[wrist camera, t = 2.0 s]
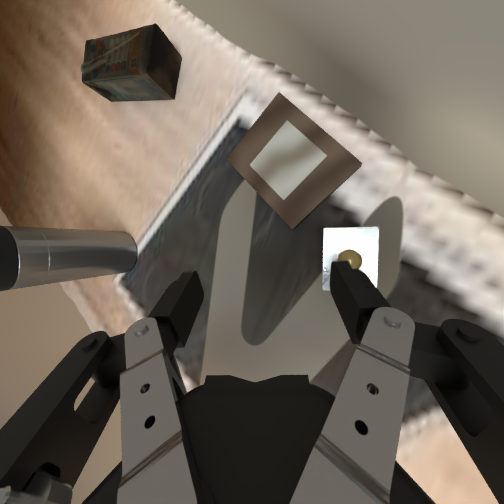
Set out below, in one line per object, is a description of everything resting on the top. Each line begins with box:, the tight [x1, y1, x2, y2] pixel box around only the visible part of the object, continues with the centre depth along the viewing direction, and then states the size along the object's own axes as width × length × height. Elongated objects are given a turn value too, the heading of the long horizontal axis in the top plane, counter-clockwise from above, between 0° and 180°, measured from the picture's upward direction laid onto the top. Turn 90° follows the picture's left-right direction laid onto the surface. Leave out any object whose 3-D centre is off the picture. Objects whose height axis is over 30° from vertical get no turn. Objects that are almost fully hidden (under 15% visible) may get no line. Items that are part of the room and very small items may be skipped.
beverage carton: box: [81, 24, 182, 102], centre depth 36 cm, size 8×19×7 cm, turn 77°
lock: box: [322, 227, 379, 291], centre depth 22 cm, size 4×6×11 cm
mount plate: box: [226, 93, 362, 230], centre depth 29 cm, size 16×12×1 cm
